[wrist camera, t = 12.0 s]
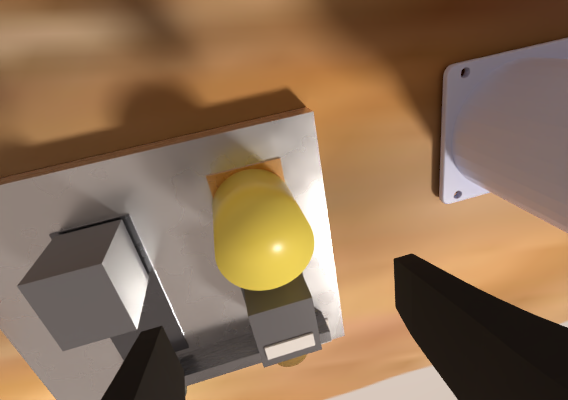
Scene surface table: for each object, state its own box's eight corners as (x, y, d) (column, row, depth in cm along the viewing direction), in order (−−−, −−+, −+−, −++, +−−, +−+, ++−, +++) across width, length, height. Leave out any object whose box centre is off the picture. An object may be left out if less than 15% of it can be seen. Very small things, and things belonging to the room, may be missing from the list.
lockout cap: (301, 223, 18) (325, 268, 14) (230, 252, 18) (237, 304, 14) (277, 156, 16) (298, 188, 13) (198, 187, 16) (197, 228, 12)
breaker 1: (121, 219, 16) (101, 263, 13) (149, 277, 17) (137, 329, 14) (54, 236, 15) (16, 286, 12) (88, 294, 17) (62, 351, 14)
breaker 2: (294, 254, 19) (312, 298, 15) (303, 301, 20) (322, 350, 17) (240, 269, 18) (248, 318, 15) (254, 316, 20) (264, 369, 17)
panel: (306, 106, 17) (324, 118, 14) (338, 322, 24) (353, 355, 21) (-75, 195, 15) (-131, 226, 12) (79, 402, 22) (63, 448, 19)
